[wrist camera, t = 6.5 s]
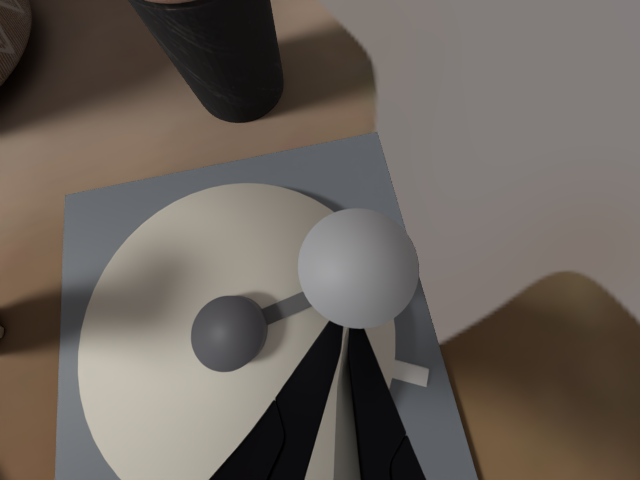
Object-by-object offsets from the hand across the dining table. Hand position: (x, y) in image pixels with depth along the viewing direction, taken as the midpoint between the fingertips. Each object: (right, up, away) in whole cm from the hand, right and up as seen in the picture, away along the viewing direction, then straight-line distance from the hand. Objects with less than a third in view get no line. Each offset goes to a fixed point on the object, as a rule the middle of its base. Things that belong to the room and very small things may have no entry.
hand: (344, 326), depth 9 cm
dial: (-6, -3, +8) cm, 10 cm away
